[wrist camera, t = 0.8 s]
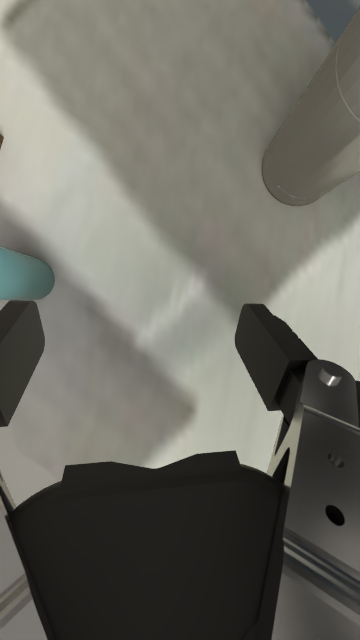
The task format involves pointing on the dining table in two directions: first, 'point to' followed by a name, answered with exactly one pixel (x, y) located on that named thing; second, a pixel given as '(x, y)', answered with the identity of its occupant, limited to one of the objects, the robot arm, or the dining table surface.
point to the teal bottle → (23, 276)
